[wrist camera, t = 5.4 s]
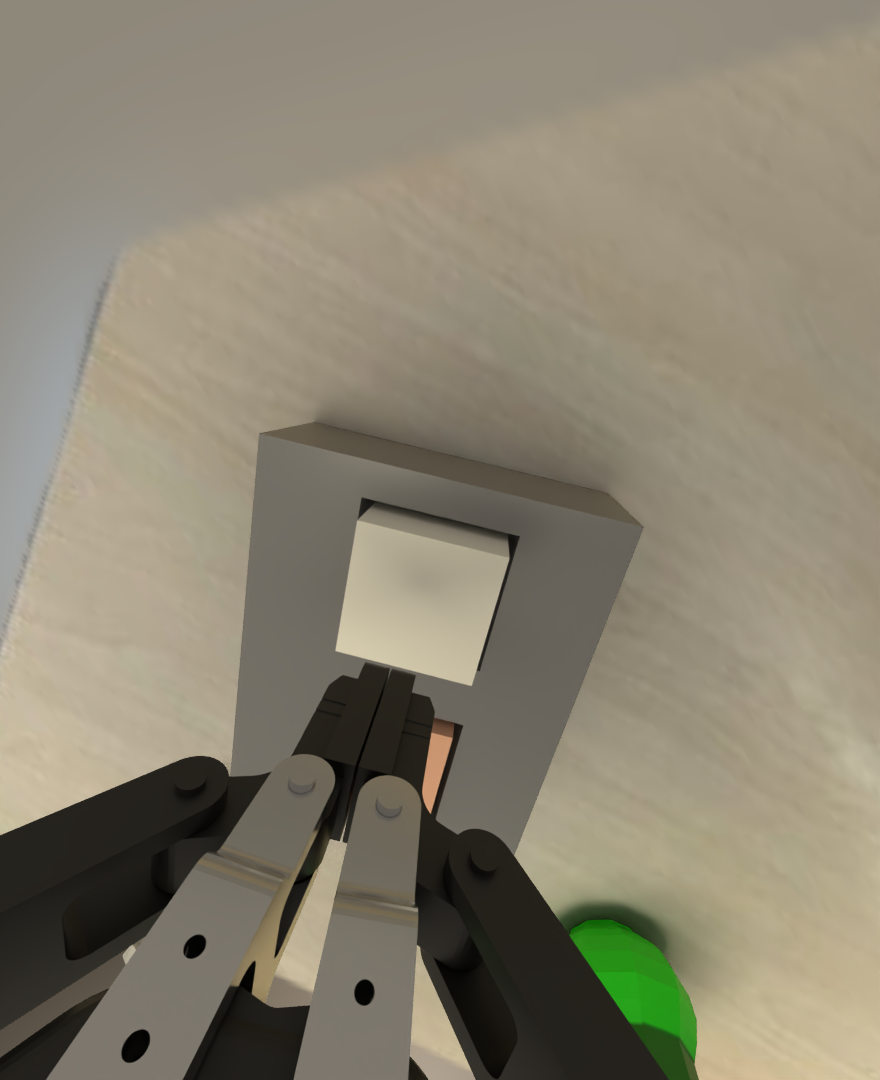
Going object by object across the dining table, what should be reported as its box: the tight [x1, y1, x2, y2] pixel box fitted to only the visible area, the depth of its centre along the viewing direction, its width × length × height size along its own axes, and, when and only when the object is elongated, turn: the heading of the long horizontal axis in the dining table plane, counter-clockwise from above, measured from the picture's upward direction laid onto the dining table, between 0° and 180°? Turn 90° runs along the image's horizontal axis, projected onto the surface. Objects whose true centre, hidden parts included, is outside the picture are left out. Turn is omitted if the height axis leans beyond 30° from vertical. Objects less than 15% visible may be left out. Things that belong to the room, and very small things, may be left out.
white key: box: [335, 502, 510, 686], centre depth 20 cm, size 6×6×3 cm
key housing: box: [230, 422, 644, 855], centre depth 25 cm, size 16×20×6 cm
